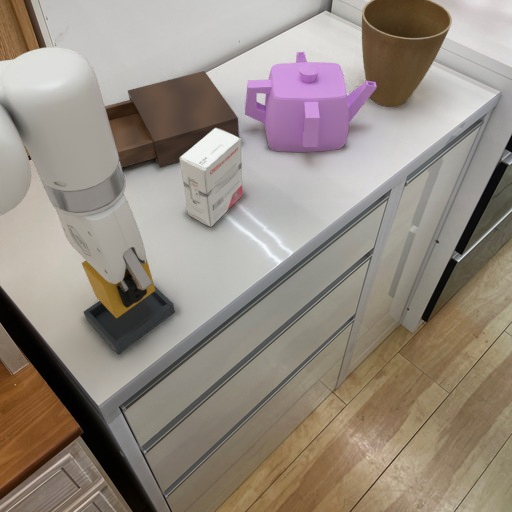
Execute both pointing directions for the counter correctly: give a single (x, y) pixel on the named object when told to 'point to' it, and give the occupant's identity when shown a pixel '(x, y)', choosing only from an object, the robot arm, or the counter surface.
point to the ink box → (212, 176)
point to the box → (112, 289)
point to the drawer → (130, 134)
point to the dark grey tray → (129, 320)
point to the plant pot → (401, 45)
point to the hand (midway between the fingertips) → (122, 286)
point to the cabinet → (182, 114)
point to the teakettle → (305, 105)
